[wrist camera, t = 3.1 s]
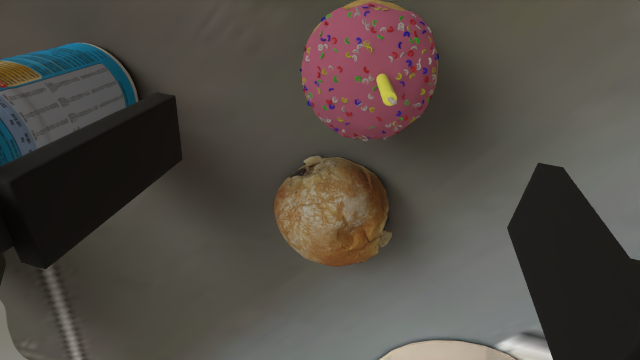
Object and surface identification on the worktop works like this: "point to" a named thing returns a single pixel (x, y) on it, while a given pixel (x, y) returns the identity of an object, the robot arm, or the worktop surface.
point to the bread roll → (333, 211)
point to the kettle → (445, 351)
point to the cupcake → (369, 69)
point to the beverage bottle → (57, 95)
